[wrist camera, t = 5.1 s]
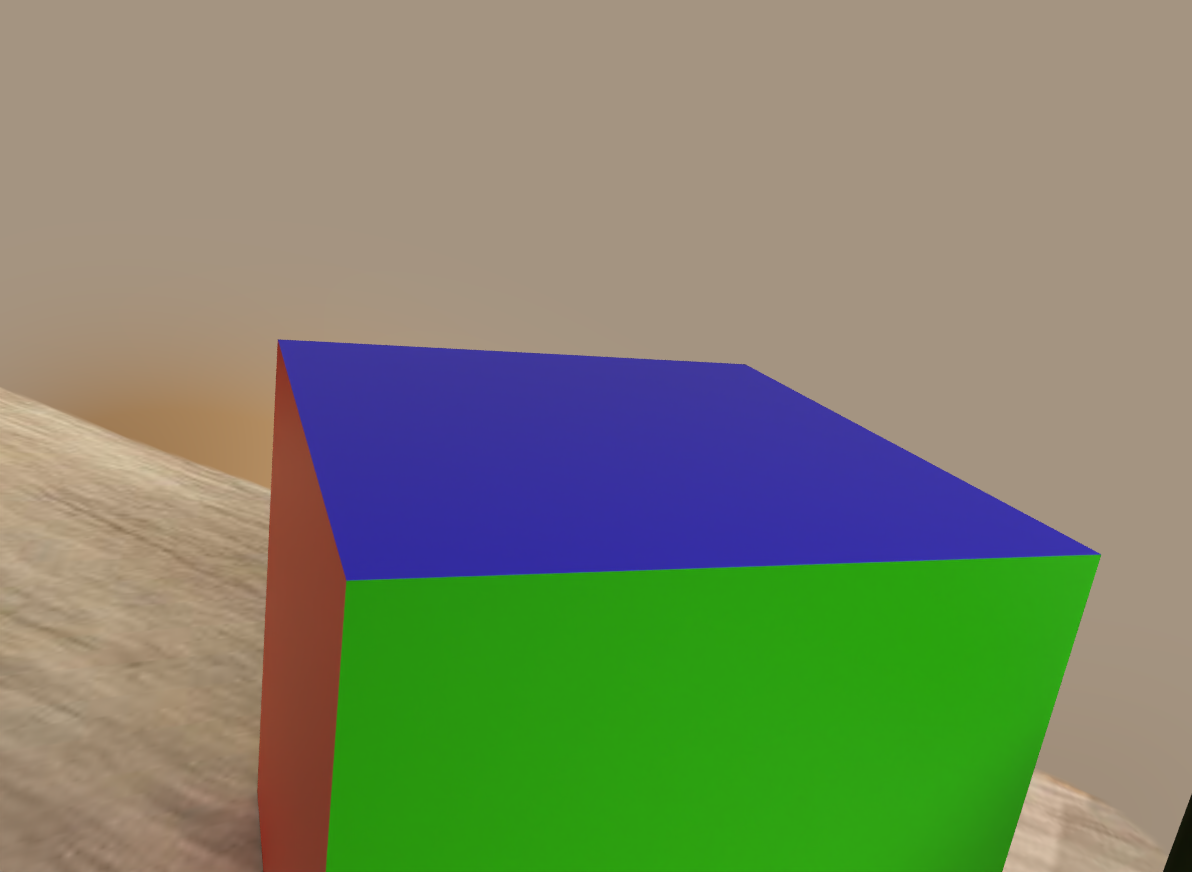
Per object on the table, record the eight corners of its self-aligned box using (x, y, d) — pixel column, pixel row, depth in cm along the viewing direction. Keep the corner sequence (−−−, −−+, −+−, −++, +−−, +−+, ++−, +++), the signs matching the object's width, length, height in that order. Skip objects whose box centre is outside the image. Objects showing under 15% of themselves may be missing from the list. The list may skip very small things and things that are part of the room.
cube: (257, 792, 17) (277, 340, 15) (673, 746, 20) (745, 364, 18) (295, 1293, 10) (346, 580, 8) (927, 1108, 13) (1101, 555, 11)
